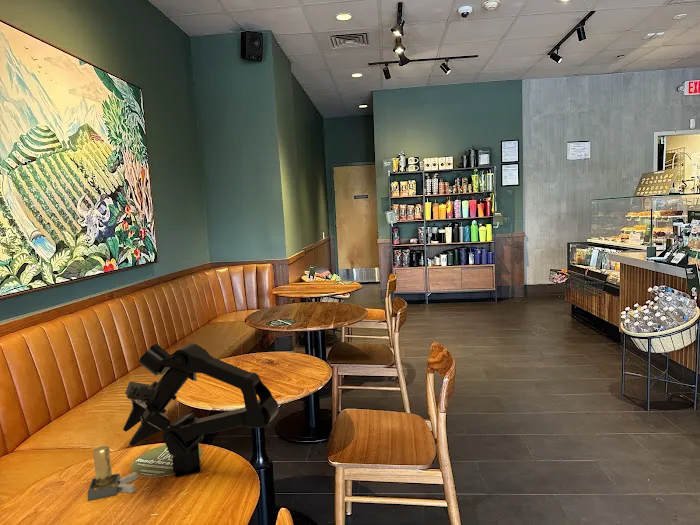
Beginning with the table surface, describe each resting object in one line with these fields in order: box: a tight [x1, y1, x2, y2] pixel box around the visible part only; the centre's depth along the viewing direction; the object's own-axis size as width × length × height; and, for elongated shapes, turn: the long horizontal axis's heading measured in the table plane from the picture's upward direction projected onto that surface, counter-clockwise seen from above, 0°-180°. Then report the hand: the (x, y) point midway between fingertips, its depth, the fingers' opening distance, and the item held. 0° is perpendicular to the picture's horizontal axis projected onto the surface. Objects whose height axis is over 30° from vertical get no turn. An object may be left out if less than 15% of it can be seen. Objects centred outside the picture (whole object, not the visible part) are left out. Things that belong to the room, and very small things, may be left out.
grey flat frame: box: [87, 471, 138, 502], centre depth 116 cm, size 11×8×2 cm
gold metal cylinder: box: [92, 445, 114, 490], centre depth 115 cm, size 4×4×11 cm
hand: (127, 437), depth 117 cm, fingers open, 9 cm apart
